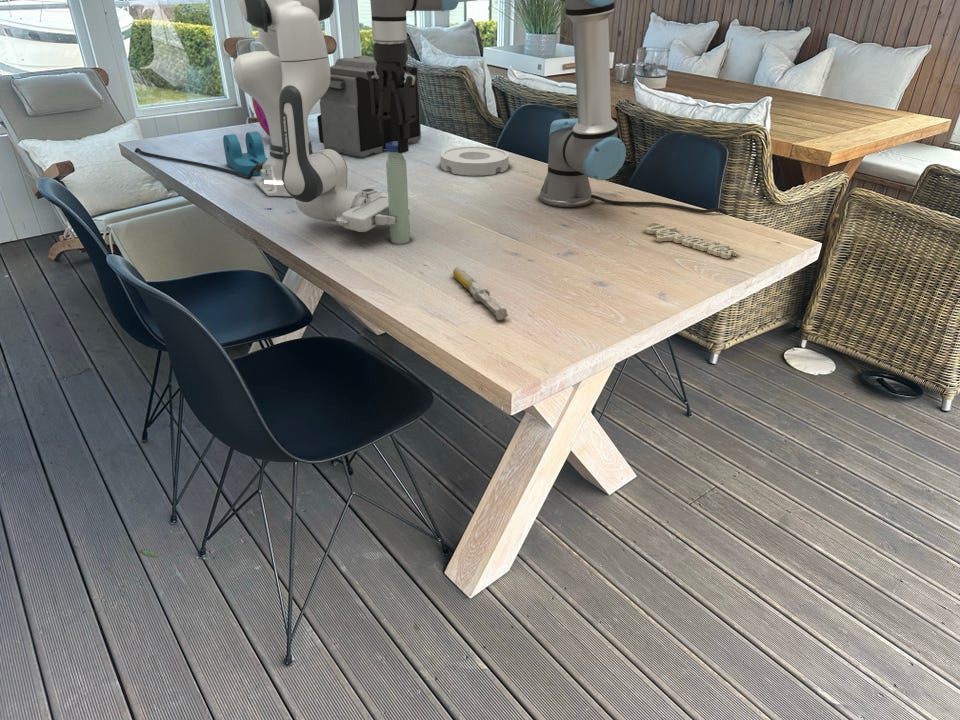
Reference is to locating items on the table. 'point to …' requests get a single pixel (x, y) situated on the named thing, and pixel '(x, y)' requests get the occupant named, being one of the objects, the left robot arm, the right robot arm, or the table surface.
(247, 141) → the camera mount
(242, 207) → the table surface
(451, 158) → the ashtray
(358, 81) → the electronic device
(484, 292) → the syringe
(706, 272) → the table surface
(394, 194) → the bottle
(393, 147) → the cap
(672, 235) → the decorative sign
